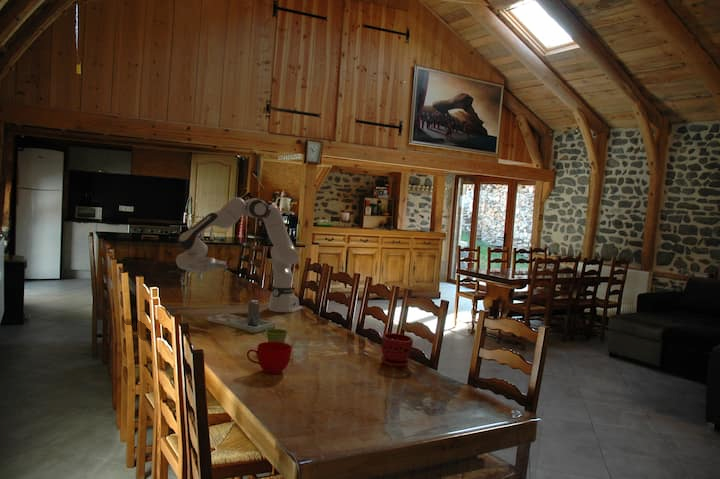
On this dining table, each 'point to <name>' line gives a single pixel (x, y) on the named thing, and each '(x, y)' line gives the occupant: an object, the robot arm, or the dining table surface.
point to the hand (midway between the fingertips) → (220, 267)
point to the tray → (224, 318)
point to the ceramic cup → (272, 356)
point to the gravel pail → (253, 313)
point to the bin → (261, 327)
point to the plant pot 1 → (276, 335)
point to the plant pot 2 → (396, 349)
